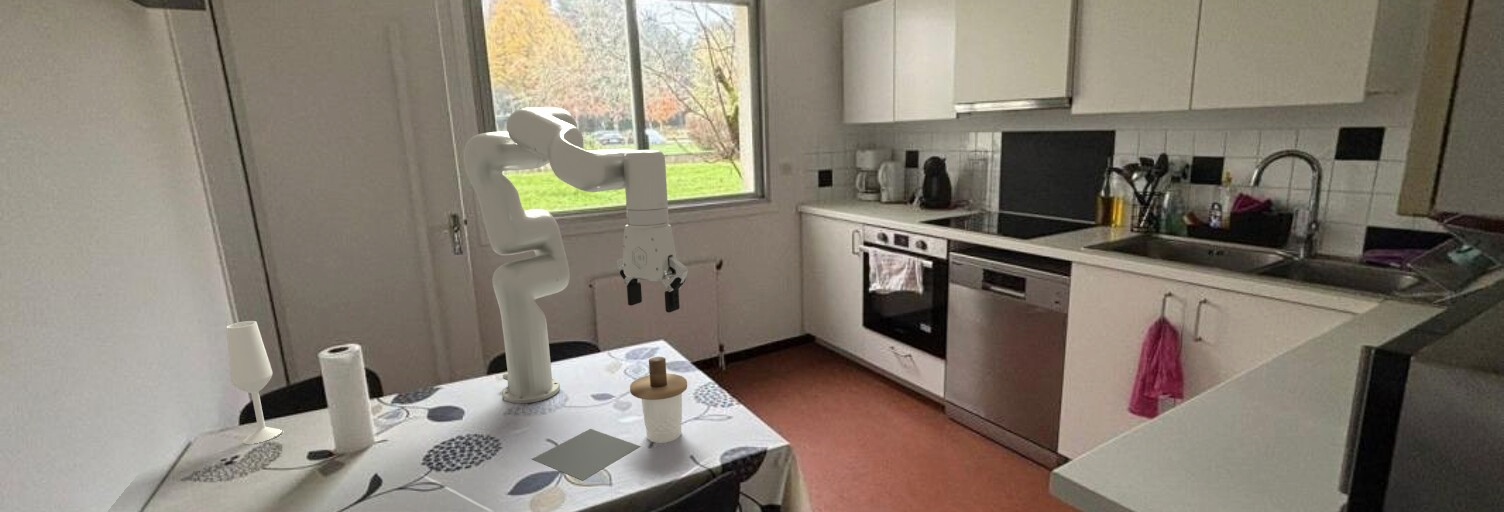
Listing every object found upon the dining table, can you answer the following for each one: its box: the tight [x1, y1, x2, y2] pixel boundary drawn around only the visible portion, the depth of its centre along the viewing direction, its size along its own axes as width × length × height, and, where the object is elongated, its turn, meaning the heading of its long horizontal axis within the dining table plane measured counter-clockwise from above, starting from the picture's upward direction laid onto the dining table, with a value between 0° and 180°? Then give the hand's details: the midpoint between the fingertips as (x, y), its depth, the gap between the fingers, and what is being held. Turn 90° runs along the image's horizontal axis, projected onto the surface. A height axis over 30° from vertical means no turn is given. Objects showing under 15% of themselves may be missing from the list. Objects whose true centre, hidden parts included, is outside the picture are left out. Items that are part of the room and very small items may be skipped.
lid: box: [629, 356, 688, 400], centre depth 122 cm, size 11×11×6 cm
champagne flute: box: [226, 320, 283, 445], centre depth 127 cm, size 7×7×24 cm
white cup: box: [641, 393, 683, 444], centre depth 123 cm, size 8×8×10 cm
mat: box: [531, 428, 641, 481], centre depth 118 cm, size 14×14×1 cm
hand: (653, 307), depth 120 cm, fingers open, 9 cm apart
